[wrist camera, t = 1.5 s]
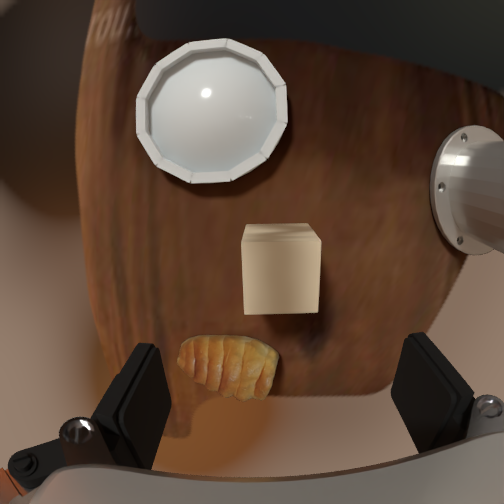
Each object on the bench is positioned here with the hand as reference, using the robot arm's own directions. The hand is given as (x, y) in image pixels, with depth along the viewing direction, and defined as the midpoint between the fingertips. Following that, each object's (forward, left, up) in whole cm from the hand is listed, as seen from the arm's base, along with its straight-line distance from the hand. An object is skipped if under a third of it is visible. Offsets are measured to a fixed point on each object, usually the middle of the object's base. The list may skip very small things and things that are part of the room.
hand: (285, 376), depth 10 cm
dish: (+5, -12, -16) cm, 20 cm away
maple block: (0, 0, -16) cm, 16 cm away
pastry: (+4, +11, -16) cm, 20 cm away
